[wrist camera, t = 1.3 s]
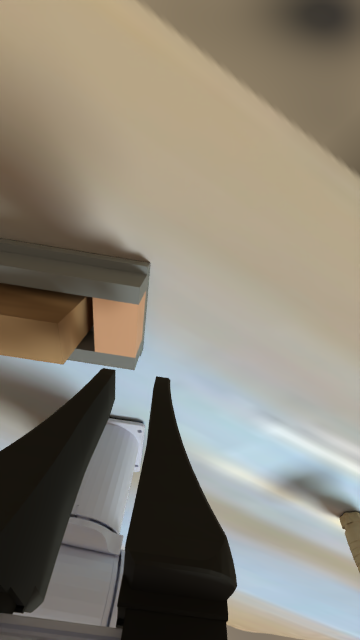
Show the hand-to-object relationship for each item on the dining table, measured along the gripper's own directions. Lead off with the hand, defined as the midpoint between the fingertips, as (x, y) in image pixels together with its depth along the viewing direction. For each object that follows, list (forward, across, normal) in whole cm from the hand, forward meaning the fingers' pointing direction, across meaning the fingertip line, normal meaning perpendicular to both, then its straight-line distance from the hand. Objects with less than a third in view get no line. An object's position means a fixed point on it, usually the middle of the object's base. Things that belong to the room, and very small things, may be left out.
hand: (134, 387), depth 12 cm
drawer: (+7, +9, 0) cm, 12 cm away
